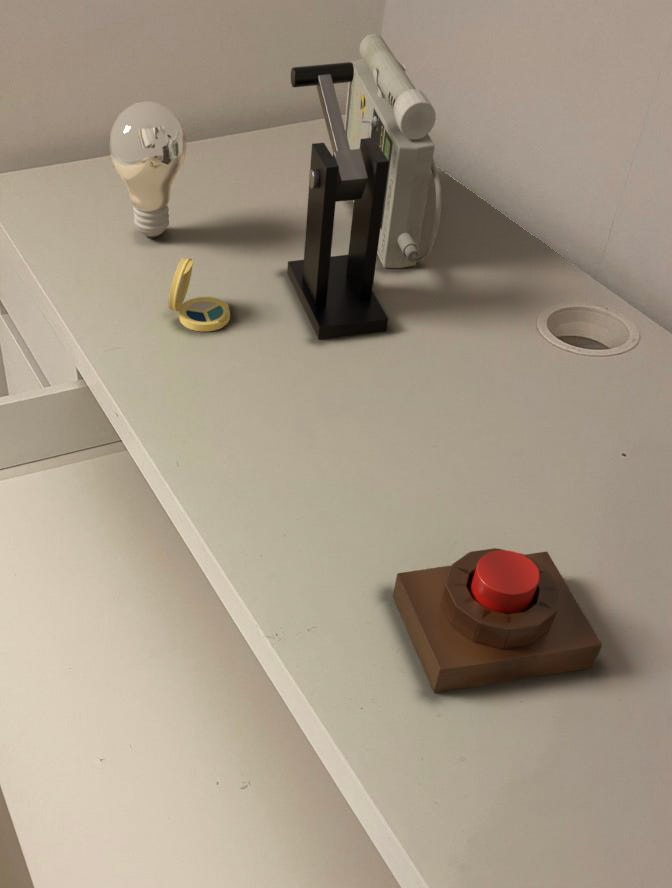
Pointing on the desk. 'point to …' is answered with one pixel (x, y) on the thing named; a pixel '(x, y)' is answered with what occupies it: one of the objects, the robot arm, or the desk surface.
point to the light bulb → (148, 161)
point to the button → (505, 581)
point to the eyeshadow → (196, 303)
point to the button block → (492, 627)
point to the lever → (336, 124)
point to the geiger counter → (395, 147)
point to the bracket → (347, 276)
